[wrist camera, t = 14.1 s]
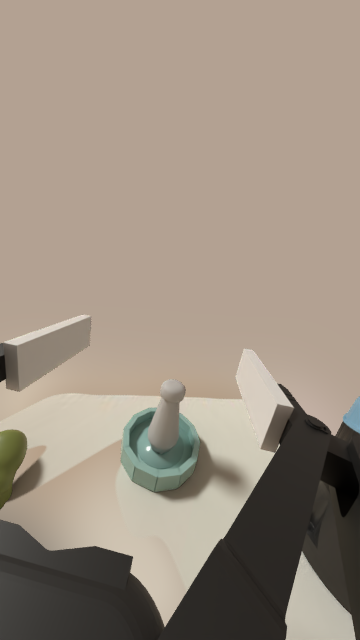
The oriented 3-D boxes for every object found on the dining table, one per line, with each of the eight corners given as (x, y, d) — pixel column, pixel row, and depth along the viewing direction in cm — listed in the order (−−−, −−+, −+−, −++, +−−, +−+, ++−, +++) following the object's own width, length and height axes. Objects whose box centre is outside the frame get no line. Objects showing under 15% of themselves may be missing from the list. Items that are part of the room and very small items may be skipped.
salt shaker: (177, 434, 37) (191, 379, 34) (174, 462, 32) (191, 399, 28) (149, 427, 37) (161, 371, 34) (141, 454, 32) (154, 390, 29)
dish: (210, 456, 35) (214, 444, 34) (151, 514, 25) (155, 499, 24) (164, 410, 44) (166, 399, 44) (107, 438, 34) (109, 426, 34)
